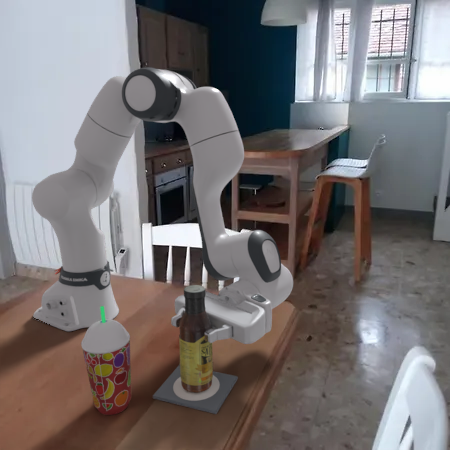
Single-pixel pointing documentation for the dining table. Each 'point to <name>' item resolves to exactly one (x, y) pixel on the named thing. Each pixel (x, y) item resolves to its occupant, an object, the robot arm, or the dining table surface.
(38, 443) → the dining table surface
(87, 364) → the smoothie
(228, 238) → the robot arm
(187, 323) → the sauce bottle
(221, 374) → the card
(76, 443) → the dining table surface
